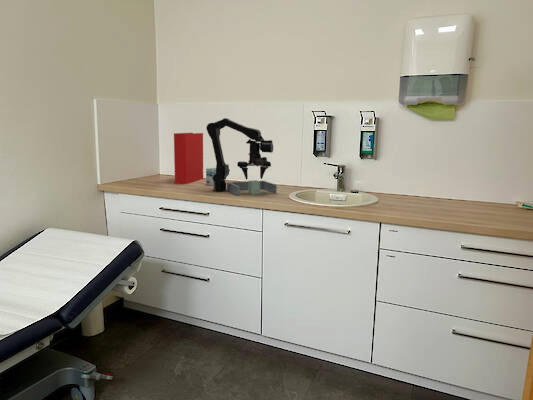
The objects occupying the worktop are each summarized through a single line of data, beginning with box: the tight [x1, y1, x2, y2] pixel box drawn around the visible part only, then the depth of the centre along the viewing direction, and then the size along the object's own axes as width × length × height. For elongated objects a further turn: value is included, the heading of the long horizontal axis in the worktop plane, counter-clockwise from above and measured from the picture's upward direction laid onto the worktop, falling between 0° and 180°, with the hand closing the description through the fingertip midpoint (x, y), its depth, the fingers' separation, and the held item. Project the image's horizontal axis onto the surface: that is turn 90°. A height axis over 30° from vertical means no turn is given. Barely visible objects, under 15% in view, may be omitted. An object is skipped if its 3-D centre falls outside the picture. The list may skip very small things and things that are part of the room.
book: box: [173, 132, 204, 185], centre depth 261 cm, size 27×8×32 cm, turn 164°
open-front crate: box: [226, 180, 278, 197], centre depth 228 cm, size 24×17×5 cm
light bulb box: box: [205, 166, 216, 187], centre depth 251 cm, size 11×7×11 cm, turn 143°
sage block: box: [247, 179, 261, 195], centre depth 225 cm, size 5×5×7 cm
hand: (254, 179), depth 224 cm, fingers open, 9 cm apart
